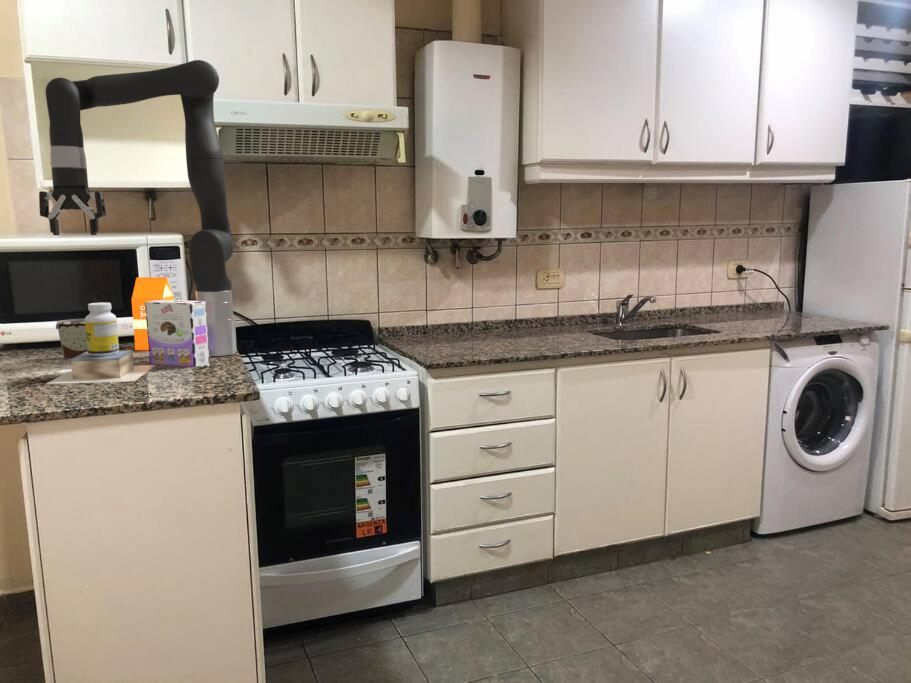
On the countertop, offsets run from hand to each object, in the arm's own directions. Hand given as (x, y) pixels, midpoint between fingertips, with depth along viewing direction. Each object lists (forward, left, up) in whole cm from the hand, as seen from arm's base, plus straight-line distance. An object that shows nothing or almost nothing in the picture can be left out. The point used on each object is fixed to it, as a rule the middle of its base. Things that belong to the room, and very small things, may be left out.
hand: (75, 235), depth 174 cm
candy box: (-24, +7, -32) cm, 41 cm away
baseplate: (-10, +18, -32) cm, 38 cm away
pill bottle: (-10, +18, -27) cm, 34 cm away
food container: (+3, -10, -32) cm, 34 cm away
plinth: (-10, +18, -31) cm, 37 cm away
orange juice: (-11, -23, -32) cm, 41 cm away
